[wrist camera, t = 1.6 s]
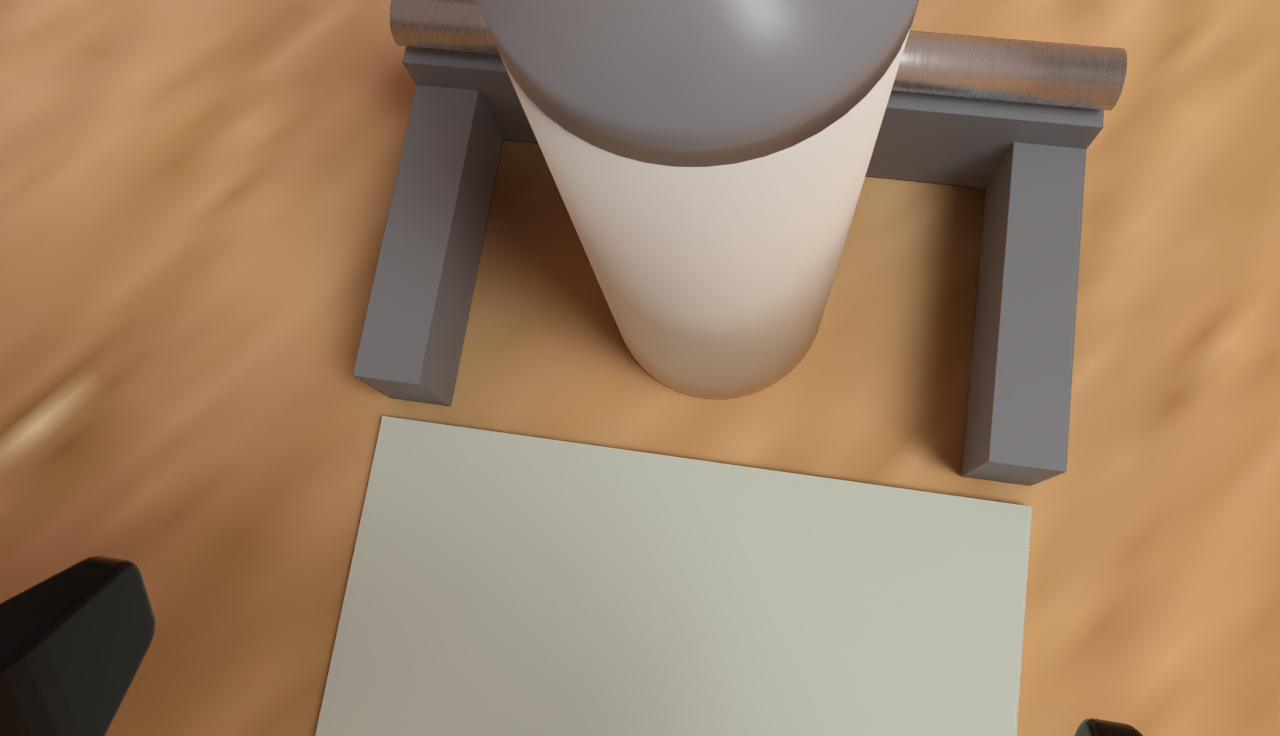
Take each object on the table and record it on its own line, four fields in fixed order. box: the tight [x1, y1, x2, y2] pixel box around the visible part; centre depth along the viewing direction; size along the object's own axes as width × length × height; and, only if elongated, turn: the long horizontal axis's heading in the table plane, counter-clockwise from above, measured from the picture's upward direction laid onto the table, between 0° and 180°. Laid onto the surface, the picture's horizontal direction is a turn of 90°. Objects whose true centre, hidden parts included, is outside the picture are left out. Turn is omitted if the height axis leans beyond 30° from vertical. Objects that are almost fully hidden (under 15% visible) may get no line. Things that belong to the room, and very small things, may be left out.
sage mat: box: [315, 416, 1032, 736], centre depth 22 cm, size 11×15×1 cm
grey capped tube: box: [476, 0, 919, 399], centre depth 17 cm, size 5×5×14 cm
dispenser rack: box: [353, 0, 1127, 486], centre depth 22 cm, size 8×15×5 cm, turn 81°
